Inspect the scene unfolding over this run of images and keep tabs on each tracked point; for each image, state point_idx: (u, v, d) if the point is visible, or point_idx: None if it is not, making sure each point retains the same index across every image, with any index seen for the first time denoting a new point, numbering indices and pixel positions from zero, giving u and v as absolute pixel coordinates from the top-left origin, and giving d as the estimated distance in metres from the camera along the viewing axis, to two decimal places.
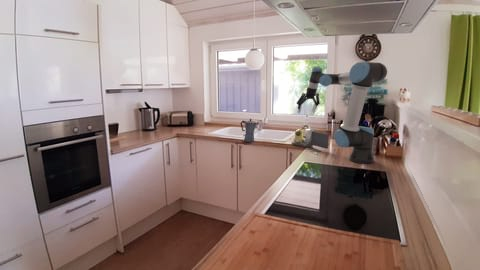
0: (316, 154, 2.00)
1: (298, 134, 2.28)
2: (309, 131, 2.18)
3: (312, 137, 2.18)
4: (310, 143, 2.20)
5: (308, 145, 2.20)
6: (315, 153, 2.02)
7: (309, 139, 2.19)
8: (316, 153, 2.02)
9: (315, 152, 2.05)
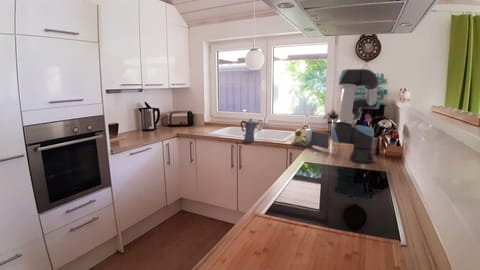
0: (316, 154, 2.00)
1: (298, 134, 2.28)
2: (309, 131, 2.18)
3: (312, 137, 2.18)
4: (310, 143, 2.20)
5: (308, 145, 2.20)
6: (315, 153, 2.02)
7: (309, 139, 2.19)
8: (316, 153, 2.02)
9: (315, 152, 2.05)
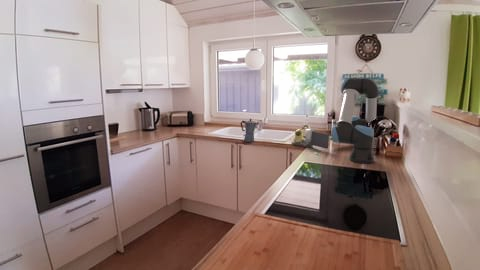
0: (316, 154, 2.00)
1: (298, 134, 2.28)
2: (309, 131, 2.18)
3: (312, 137, 2.18)
4: (310, 143, 2.20)
5: (308, 145, 2.20)
6: (315, 153, 2.02)
7: (309, 139, 2.19)
8: (316, 153, 2.02)
9: (315, 152, 2.05)
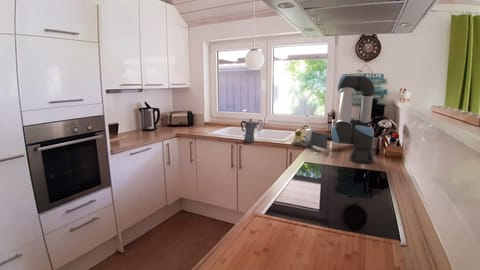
0: (316, 154, 2.00)
1: (298, 134, 2.28)
2: (309, 131, 2.18)
3: (312, 137, 2.18)
4: (310, 143, 2.20)
5: (308, 145, 2.20)
6: (315, 153, 2.02)
7: (309, 139, 2.19)
8: (316, 153, 2.02)
9: (315, 152, 2.05)
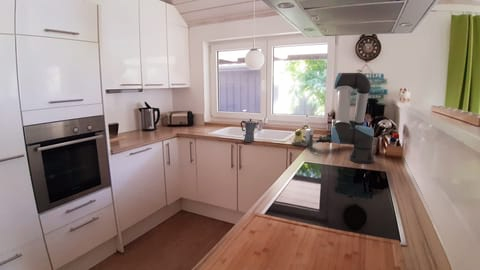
0: (316, 154, 2.00)
1: (298, 134, 2.28)
2: (306, 131, 2.20)
3: (308, 137, 2.18)
4: (307, 143, 2.20)
5: (306, 145, 2.22)
6: (315, 153, 2.02)
7: (307, 138, 2.20)
8: (316, 153, 2.02)
9: (315, 152, 2.05)
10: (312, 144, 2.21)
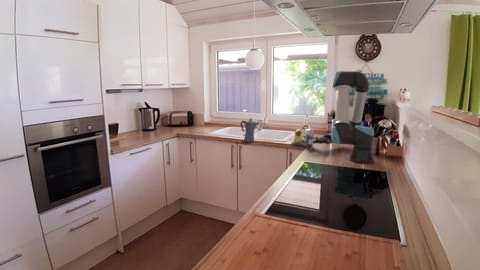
0: (316, 154, 2.00)
1: (298, 134, 2.28)
2: (306, 131, 2.20)
3: None
4: None
5: (305, 144, 2.22)
6: (315, 153, 2.02)
7: (306, 138, 2.20)
8: (316, 153, 2.02)
9: (315, 152, 2.05)
10: (312, 144, 2.21)
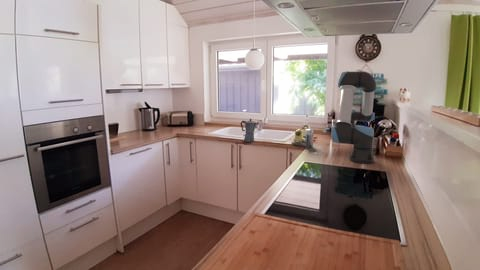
0: (316, 154, 2.00)
1: (298, 134, 2.28)
2: (306, 131, 2.20)
3: None
4: None
5: (305, 144, 2.22)
6: (315, 153, 2.02)
7: (306, 138, 2.20)
8: (316, 153, 2.02)
9: (315, 152, 2.05)
10: (312, 144, 2.21)
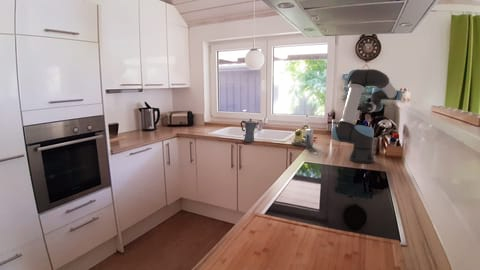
0: (316, 154, 2.00)
1: (298, 134, 2.28)
2: (306, 131, 2.20)
3: None
4: None
5: (305, 144, 2.22)
6: (315, 153, 2.02)
7: (306, 138, 2.20)
8: (316, 153, 2.02)
9: (315, 152, 2.05)
10: (312, 144, 2.21)
